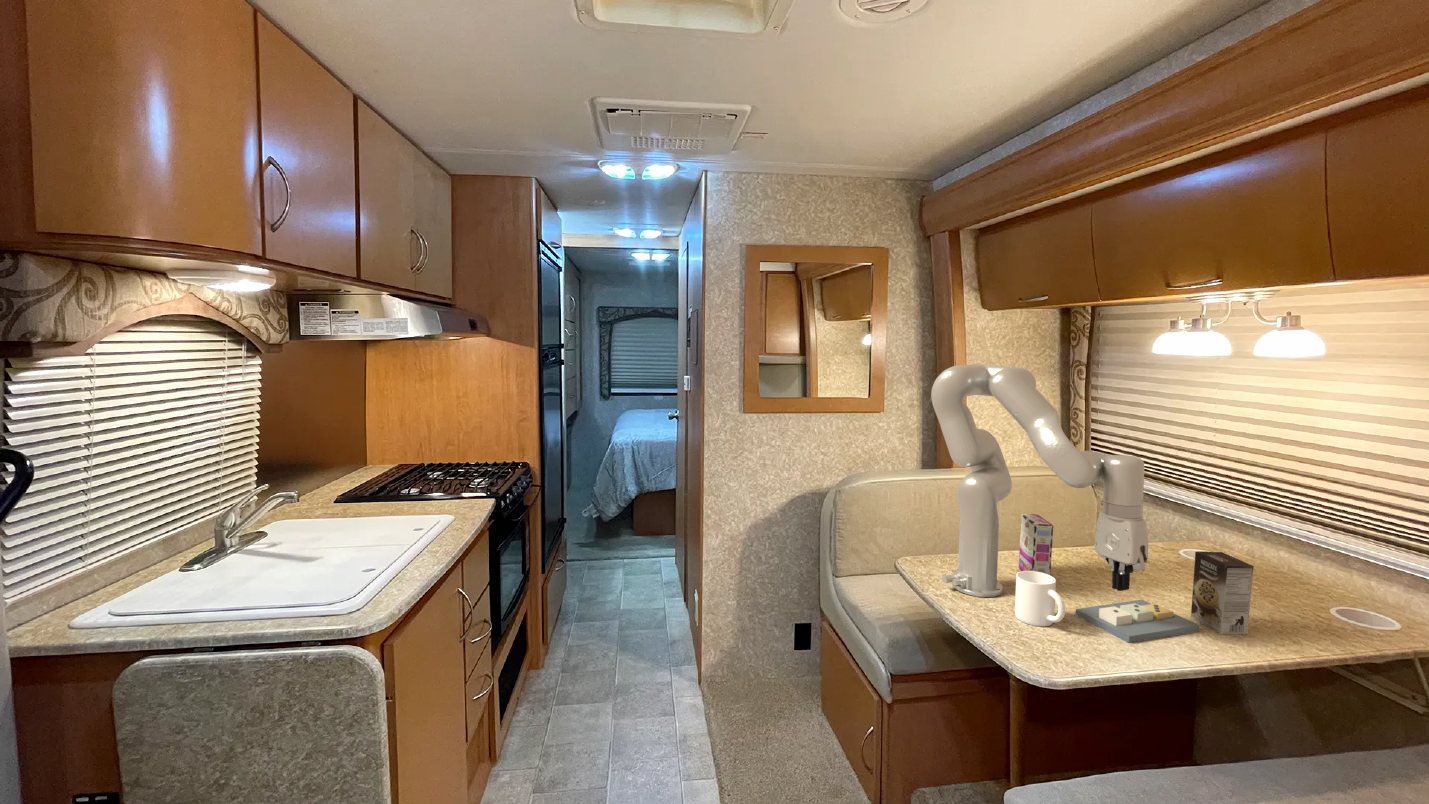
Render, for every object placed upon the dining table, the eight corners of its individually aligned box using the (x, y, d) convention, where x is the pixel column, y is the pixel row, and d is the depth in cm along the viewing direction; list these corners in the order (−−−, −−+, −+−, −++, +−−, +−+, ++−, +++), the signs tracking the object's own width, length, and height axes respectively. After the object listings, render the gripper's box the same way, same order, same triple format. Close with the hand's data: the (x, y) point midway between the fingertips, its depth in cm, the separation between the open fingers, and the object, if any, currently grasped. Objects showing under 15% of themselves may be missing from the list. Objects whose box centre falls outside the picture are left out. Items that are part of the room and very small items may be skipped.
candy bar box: (1051, 584, 163) (1054, 525, 162) (1031, 583, 164) (1034, 524, 162) (1036, 568, 174) (1038, 513, 173) (1017, 568, 175) (1020, 512, 173)
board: (1128, 642, 131) (1129, 636, 131) (1075, 615, 145) (1075, 609, 144) (1199, 631, 136) (1199, 624, 136) (1141, 605, 150) (1141, 599, 149)
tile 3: (1157, 623, 139) (1158, 613, 139) (1139, 614, 143) (1140, 605, 143) (1172, 620, 140) (1173, 610, 140) (1154, 612, 144) (1155, 602, 144)
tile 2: (1137, 623, 138) (1137, 612, 137) (1119, 614, 142) (1120, 604, 142) (1152, 620, 139) (1153, 610, 138) (1134, 612, 143) (1135, 602, 143)
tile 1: (1116, 626, 136) (1116, 616, 136) (1098, 617, 140) (1099, 607, 140) (1131, 623, 137) (1132, 613, 137) (1114, 615, 141) (1114, 605, 141)
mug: (1076, 631, 137) (1078, 587, 136) (1048, 637, 134) (1050, 592, 133) (1033, 609, 148) (1035, 568, 147) (1006, 614, 145) (1008, 573, 144)
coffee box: (1189, 616, 143) (1193, 550, 142) (1216, 616, 143) (1221, 550, 142) (1219, 635, 134) (1225, 565, 133) (1249, 635, 134) (1255, 565, 133)
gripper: (1081, 504, 142) (1079, 579, 144) (1140, 520, 128) (1137, 604, 129) (1107, 501, 144) (1105, 575, 146) (1167, 517, 130) (1165, 599, 131)
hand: (1120, 588), depth 138 cm, fingers closed
